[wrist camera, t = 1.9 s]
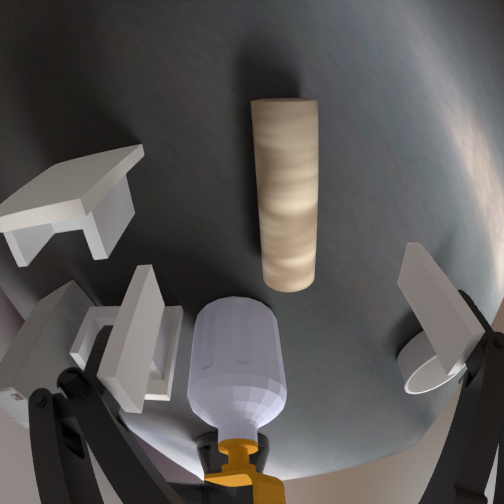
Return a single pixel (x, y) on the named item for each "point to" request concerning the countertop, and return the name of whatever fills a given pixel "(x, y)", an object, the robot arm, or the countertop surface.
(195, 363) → the soap bottle
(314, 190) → the rail
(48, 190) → the bracket
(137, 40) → the countertop surface
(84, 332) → the bracket
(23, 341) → the skincare box
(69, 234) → the countertop surface
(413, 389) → the saucepan
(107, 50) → the countertop surface
